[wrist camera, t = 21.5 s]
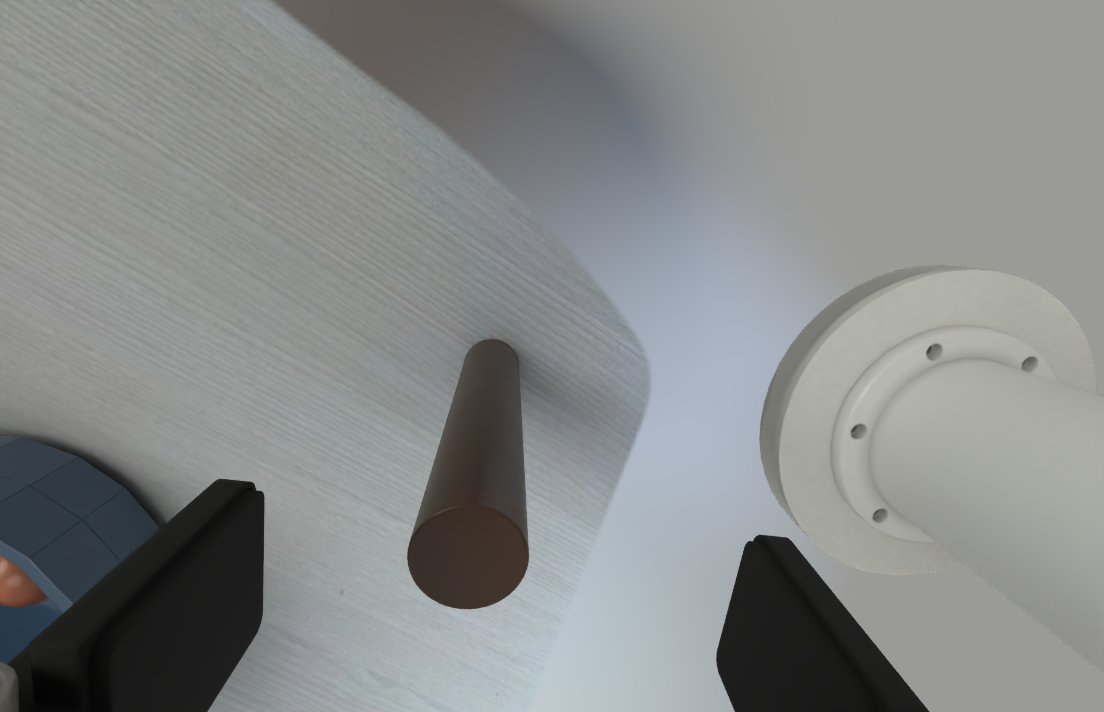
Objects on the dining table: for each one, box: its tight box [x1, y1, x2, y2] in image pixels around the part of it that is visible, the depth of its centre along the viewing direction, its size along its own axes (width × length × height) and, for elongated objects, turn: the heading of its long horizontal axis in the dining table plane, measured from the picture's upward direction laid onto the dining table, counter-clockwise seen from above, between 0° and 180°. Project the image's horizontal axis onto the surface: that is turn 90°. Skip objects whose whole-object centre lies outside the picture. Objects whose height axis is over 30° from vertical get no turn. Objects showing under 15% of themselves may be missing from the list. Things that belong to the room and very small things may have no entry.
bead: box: [0, 556, 49, 607], centre depth 25 cm, size 3×3×3 cm
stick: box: [407, 339, 529, 609], centre depth 19 cm, size 3×3×15 cm
